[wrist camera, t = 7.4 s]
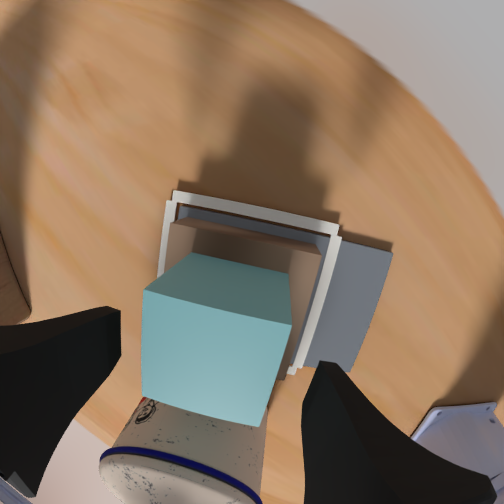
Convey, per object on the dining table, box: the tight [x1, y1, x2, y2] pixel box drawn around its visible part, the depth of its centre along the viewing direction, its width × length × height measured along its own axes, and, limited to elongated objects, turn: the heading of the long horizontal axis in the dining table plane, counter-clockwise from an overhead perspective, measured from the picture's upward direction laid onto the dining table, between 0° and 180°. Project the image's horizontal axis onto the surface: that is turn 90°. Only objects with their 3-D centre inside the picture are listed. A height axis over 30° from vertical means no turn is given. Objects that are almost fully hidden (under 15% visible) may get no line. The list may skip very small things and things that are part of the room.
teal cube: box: [141, 252, 292, 427], centre depth 11 cm, size 4×4×5 cm
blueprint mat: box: [157, 190, 393, 375], centre depth 16 cm, size 13×10×1 cm
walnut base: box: [164, 217, 322, 380], centre depth 15 cm, size 7×7×2 cm
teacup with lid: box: [99, 396, 268, 504], centre depth 13 cm, size 12×9×12 cm
